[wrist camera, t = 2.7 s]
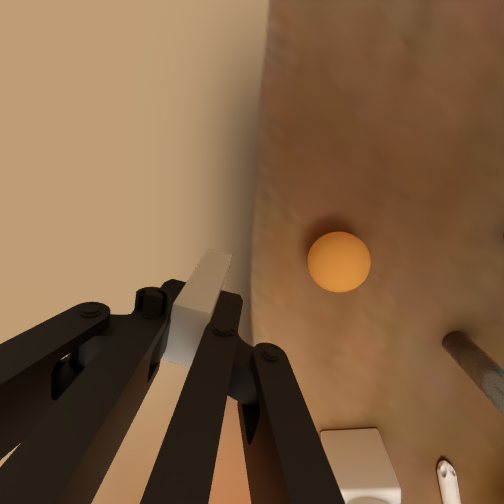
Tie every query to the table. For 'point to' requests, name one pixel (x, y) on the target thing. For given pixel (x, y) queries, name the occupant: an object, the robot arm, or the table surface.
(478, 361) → the post
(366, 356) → the table surface
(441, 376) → the table surface
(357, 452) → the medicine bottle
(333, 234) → the ball
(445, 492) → the marker
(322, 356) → the table surface
